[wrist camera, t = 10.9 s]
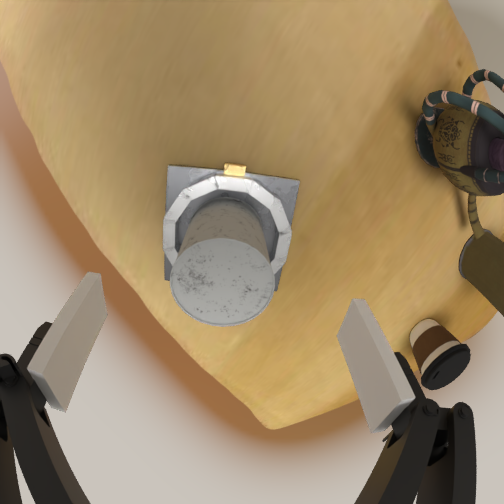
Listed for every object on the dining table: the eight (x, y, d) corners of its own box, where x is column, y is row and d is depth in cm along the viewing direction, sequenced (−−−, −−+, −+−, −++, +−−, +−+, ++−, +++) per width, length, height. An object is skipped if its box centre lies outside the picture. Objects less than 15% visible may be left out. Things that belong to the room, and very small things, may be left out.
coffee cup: (391, 352, 51) (414, 396, 40) (412, 309, 46) (443, 353, 35) (429, 347, 52) (453, 386, 41) (450, 307, 47) (482, 345, 36)
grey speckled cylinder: (231, 181, 34) (230, 215, 23) (277, 238, 38) (295, 293, 27) (173, 227, 36) (148, 278, 25) (220, 278, 40) (216, 340, 29)
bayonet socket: (170, 156, 33) (164, 160, 30) (300, 172, 35) (305, 177, 32) (165, 282, 41) (161, 294, 38) (274, 293, 42) (277, 306, 40)
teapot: (440, 69, 28) (572, 73, 7) (483, 208, 38) (577, 273, 17) (383, 95, 30) (529, 104, 9) (437, 242, 40) (530, 330, 19)
